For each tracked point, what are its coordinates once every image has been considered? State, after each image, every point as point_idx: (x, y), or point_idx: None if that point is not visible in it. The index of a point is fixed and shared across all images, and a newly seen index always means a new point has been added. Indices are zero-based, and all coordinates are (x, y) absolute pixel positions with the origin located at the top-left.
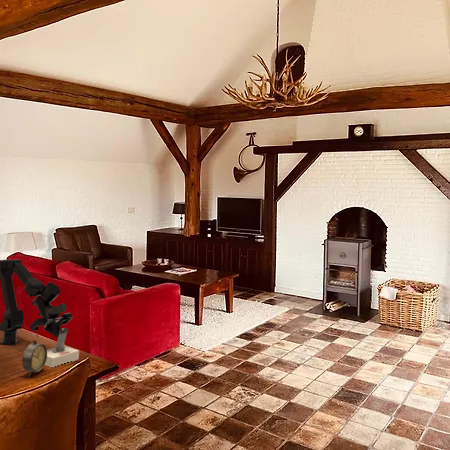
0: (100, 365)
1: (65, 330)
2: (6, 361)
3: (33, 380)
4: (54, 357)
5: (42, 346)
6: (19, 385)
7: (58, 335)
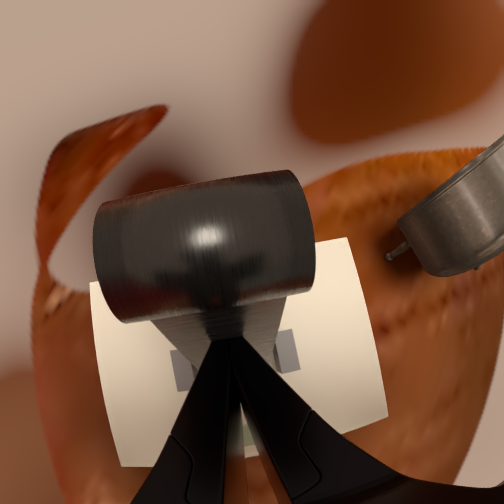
0: (95, 159)
1: (189, 187)
2: (460, 456)
3: (437, 174)
4: (329, 245)
5: (483, 169)
6: None
7: (261, 357)
